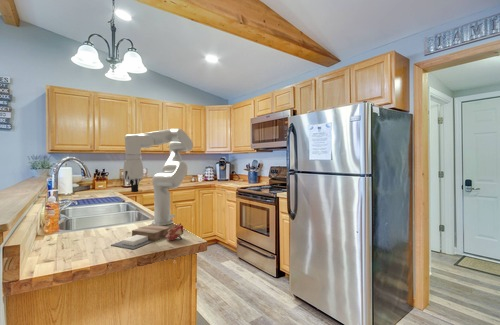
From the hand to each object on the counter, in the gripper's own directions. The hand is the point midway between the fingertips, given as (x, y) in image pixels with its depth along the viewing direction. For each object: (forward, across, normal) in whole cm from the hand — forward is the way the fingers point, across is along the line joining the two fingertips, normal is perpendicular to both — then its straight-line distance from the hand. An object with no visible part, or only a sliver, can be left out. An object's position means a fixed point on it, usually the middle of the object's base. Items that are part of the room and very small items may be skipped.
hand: (134, 191), depth 138 cm
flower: (+23, +2, +26) cm, 35 cm away
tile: (+22, +13, +12) cm, 28 cm away
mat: (+22, +14, +11) cm, 28 cm away
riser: (+23, +1, +12) cm, 25 cm away
